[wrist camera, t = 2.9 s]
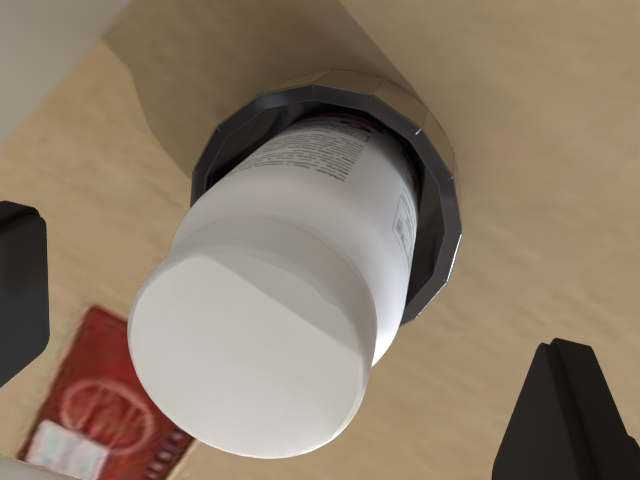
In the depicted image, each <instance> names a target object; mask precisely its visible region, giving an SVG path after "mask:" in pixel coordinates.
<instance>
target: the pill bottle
mask: <svg viewBox="0 0 640 480" xmlns="http://www.w3.org/2000/svg"><path fill="white" fill-rule="evenodd" d="M419 212H420V187H419V181H418V177H417V173H416V170H415V168H414V165H413V163H412V161H411V159H410V157H409V156H408V154H407V152H406V151H405V150H404V148H403V147H402V146H401V144H400V143H399V142H398V141H397V140H396V139H395V138H394V137H393V136H392V135H391V134H390V133H389V132H387V131H386V130H385V129H383V128H382V127H380V126H379V125H377V124H375V123H373V122H371V121H369V120H367V119H364V118H361V117H358V116H354V115H350V114H344V113H322V114H316V115H312V116H309V117H306V118H303V119H300V120H298V121H296V122H294V123H292V124H291V125H289V126H288V127H286V128H285V129H283V130H282V131H280V132H279V133H278V134H276V135H275V136H274V137H272V138H271V139H270V140H268V141H267V142H266V143H265V144H264V145H262V146H261V147H260V148H259V149H257V150H256V151H255V152H254V153H252V154H251V155H250V156H249V157H247V158H246V159H245V160H244V161H243V162H242V163H240V164H239V165H238V166H237V167H235V168H234V169H233V170H232V171H231V172H229V173H228V174H227V175H226V176H225V177H223V178H222V179H221V180H220V181H218V182H217V183H216V184H215V185H214V186H213V187H212V188H210V189H209V190H208V191H207V192H206V193H205V194H204V195H202V196H201V197H200V198H199V199H198V201H197V202H196V203H195V204H194V205H193V206H192V207H191V208H190V210H189V211H188V212H187V214H186V215H185V217H184V218H183V220H182V221H181V223H180V225H179V227H178V229H177V231H176V233H175V235H174V238H173V241H172V244H171V247H170V251H169V254H168V255H167V256H166V257H165V259H164V260H163V261H162V262H161V263H160V264H159V265H158V266H157V267H156V268H155V269H154V270H153V271H152V272H151V273H150V274H149V275H148V277H147V278H146V279H145V281H144V282H143V283H142V285H141V286H140V288H139V290H138V292H137V293H136V295H135V297H134V300H133V302H132V305H131V308H130V311H129V318H128V327H127V336H128V345H129V350H130V355H131V358H132V362H133V365H134V368H135V370H136V373H137V376H138V378H139V380H140V382H141V384H142V385H143V387H144V389H145V391H146V392H147V393H148V395H149V396H150V398H151V399H152V400H153V402H154V403H155V404H156V405H157V407H158V408H159V409H160V410H161V411H162V412H163V413H164V414H165V415H166V416H167V417H168V418H169V419H171V420H172V421H173V422H174V423H175V424H176V425H178V426H179V427H180V428H182V429H183V430H184V431H186V432H187V433H189V434H190V435H192V436H193V437H195V438H197V439H198V440H200V441H202V442H204V443H206V444H208V445H210V446H213V447H215V448H218V449H221V450H223V451H226V452H230V453H234V454H237V455H241V456H248V457H255V458H284V457H292V456H296V455H300V454H303V453H307V452H310V451H312V450H315V449H317V448H319V447H321V446H322V445H324V444H326V443H328V442H329V441H331V440H333V439H334V438H335V437H336V436H337V435H338V434H339V433H341V432H342V431H343V430H344V428H345V427H346V426H347V425H348V424H349V423H350V421H351V420H352V419H353V417H354V416H355V414H356V412H357V410H358V409H359V407H360V405H361V402H362V399H363V396H364V393H365V391H366V387H367V382H368V379H369V375H370V371H371V367H372V366H373V365H374V364H375V363H376V362H377V361H378V360H379V359H380V358H381V357H382V355H383V354H384V353H385V351H386V350H387V348H388V347H389V346H390V344H391V342H392V341H393V339H394V337H395V335H396V332H397V330H398V327H399V324H400V321H401V319H402V315H403V311H404V307H405V301H406V295H407V289H408V283H409V277H410V271H411V263H412V257H413V250H414V244H415V238H416V231H417V225H418V219H419Z"/></svg>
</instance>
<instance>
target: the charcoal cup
mask: <svg viewBox="0 0 640 480" xmlns="http://www.w3.org/2000/svg"><path fill="white" fill-rule="evenodd" d="M322 113H344V114H350V115H354V116H358V117H361V118H364V119H367V120H369V121H371V122H373V123H375V124H377V125H379V126H380V127H382V128H383V129H385V130H386V131H387V132H389V133H390V134H391V135H392V136H393V137H394V138H395V139H396V140H397V141H398V142H399V143H400V144H401V146H402V147H403V148H404V150H405V151H406V152H407V154H408V156H409V157H410V159H411V161H412V163H413V165H414V168H415V170H416V173H417V177H418V181H419V187H420V212H419V219H418V225H417V231H416V238H415V244H414V250H413V257H412V263H411V271H410V277H409V283H408V289H407V295H406V301H405V307H404V311H403V315H402V319H401V321H400V324H399V327H400V326H402V325H404V324H406V323H408V322H410V321H412V320H414V319H415V318H417V317H418V316H419V314H420V313H421V312H422V311H423V310H424V309H425V308H426V306H427V305H428V304H429V303H430V302H431V301H432V299H433V298H434V297H435V296H436V295H437V294H438V293H439V291H440V290H441V289H442V288H443V287H444V286H445V284H446V283H447V281H448V280H449V277H450V273H451V270H452V266H453V263H454V259H455V256H456V253H457V249H458V246H459V242H460V239H461V235H462V211H461V193H460V186H459V180H458V170H457V165H456V160H455V153H454V151H453V148H452V146H451V145H450V143H449V140H448V138H447V136H446V135H445V133H444V131H443V129H442V127H441V126H440V124H439V123H438V121H437V120H436V119H435V117H434V116H433V115H432V113H431V112H430V111H429V110H428V109H427V108H426V107H425V106H424V105H423V104H422V103H421V102H420V101H419V100H418V99H416V98H415V97H414V96H413V95H411V94H410V93H409V92H407V91H406V90H404V89H403V88H401V87H399V86H397V85H396V84H394V83H392V82H390V81H387V80H385V79H383V78H380V77H378V76H374V75H371V74H367V73H363V72H357V71H349V70H337V69H336V70H333V69H332V70H327V71H320V72H314V73H310V74H307V75H304V76H300V77H296V78H292V79H288V80H286V81H284V82H282V83H280V84H278V85H276V86H274V87H272V88H270V89H268V90H266V91H264V92H262V93H260V94H258V95H256V96H255V97H254V98H252V99H251V100H250V101H248V102H247V103H246V104H245V105H243V106H242V107H241V108H239V109H238V110H237V111H235V112H234V113H233V114H231V115H230V116H229V117H227V118H226V119H225V120H223V121H222V122H221V123H219V124H218V125H217V127H215V129H214V131H213V133H212V135H211V137H210V139H209V140H208V142H207V144H206V146H205V148H204V150H203V152H202V154H201V156H200V157H199V159H198V161H197V163H196V165H195V167H194V169H193V173H192V187H191V202H190V208H191V207H192V206H193V205H194V204H195V203H196V202H197V201H198V199H199V198H200V197H201V196H202V195H204V194H205V193H206V192H207V191H208V190H209V189H210V188H212V187H213V186H214V185H215V184H216V183H217V182H218V181H220V180H221V179H222V178H223V177H225V176H226V175H227V174H228V173H229V172H231V171H232V170H233V169H234V168H235V167H237V166H238V165H239V164H240V163H242V162H243V161H244V160H245V159H246V158H247V157H249V156H250V155H251V154H252V153H254V152H255V151H256V150H257V149H259V148H260V147H261V146H262V145H264V144H265V143H266V142H267V141H268V140H270V139H271V138H272V137H274V136H275V135H276V134H278V133H279V132H280V131H282V130H283V129H285V128H286V127H288V126H289V125H291V124H292V123H294V122H296V121H298V120H300V119H303V118H306V117H309V116H312V115H316V114H322Z"/></svg>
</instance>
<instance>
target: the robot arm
mask: <svg viewBox="0 0 640 480" xmlns="http://www.w3.org/2000/svg"><path fill="white" fill-rule="evenodd" d="M49 336H50V329H49V297H48V265H47V233H46V222H45V220H44V219H43V218H42V217H40V214H39V212H38V210H36V209H35V208H34V207H29V206H25V205H21V204H17V203H13V202H9V201H1V202H0V388H1V387H2V386H3V385H4V384H5V383H7V382H8V381H9V380H10V379H11V378H13V377H14V376H15V375H16V374H17V373H19V372H20V371H21V370H22V369H23V368H25V367H26V366H27V365H28V364H29V363H31V362H32V361H33V360H34V359H35V358H37V357H38V356H39V355H40V354H41V353H42V352H43V351H44V350H45V348H46V346H47V344H48V341H49ZM0 480H81V479H77V478H74V477H71V476H68V475H65V474H61V473H58V472H55V471H52V470H49V469H45V468H42V467H39V466H36V465H33V464H30V463H26V462H23V461H20V460H17V459H14V458H10V457H7V456H4V455H1V454H0ZM492 480H640V447H639V445H638V444H637V442H636V441H635V439H634V438H632V437H631V436H629V435H628V434H627V432H626V429H625V427H624V424H623V422H622V419H621V417H620V415H619V412H618V410H617V407H616V405H615V402H614V400H613V397H612V395H611V393H610V390H609V388H608V385H607V383H606V380H605V378H604V375H603V373H602V371H601V368H600V366H599V363H598V361H597V358H596V356H595V354H594V351H593V349H592V348H591V346H587V345H583V344H579V343H575V342H571V341H567V340H563V339H559V338H555V339H553V341H552V342H551V343H550V345H549V344H545V343H541V344H540V345H539V346H538V348H537V350H536V353H535V355H534V358H533V361H532V363H531V366H530V369H529V371H528V374H527V377H526V379H525V382H524V385H523V387H522V390H521V392H520V395H519V398H518V400H517V403H516V406H515V408H514V411H513V414H512V416H511V419H510V421H509V424H508V427H507V429H506V432H505V435H504V437H503V440H502V443H501V445H500V448H499V450H498V453H497V456H496V458H495V461H494V465H493V470H492Z"/></svg>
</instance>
